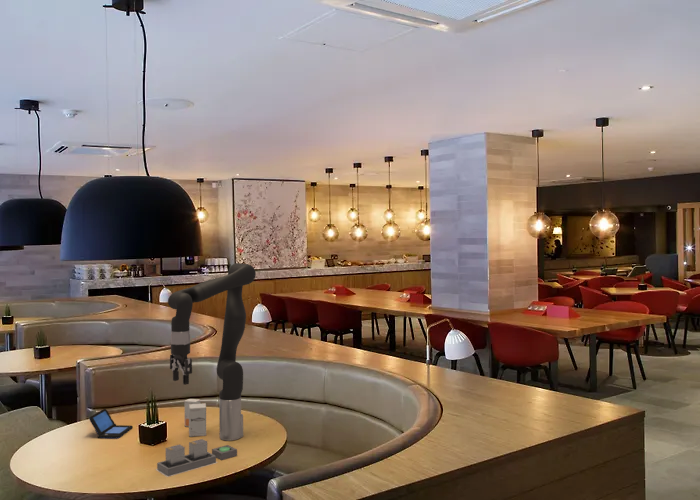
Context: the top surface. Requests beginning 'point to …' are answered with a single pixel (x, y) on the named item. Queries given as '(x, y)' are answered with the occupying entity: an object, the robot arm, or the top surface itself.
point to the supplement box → (197, 419)
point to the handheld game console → (107, 426)
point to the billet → (175, 456)
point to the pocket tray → (185, 465)
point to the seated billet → (197, 450)
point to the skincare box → (187, 402)
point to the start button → (224, 449)
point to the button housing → (224, 453)
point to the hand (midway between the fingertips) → (180, 382)
